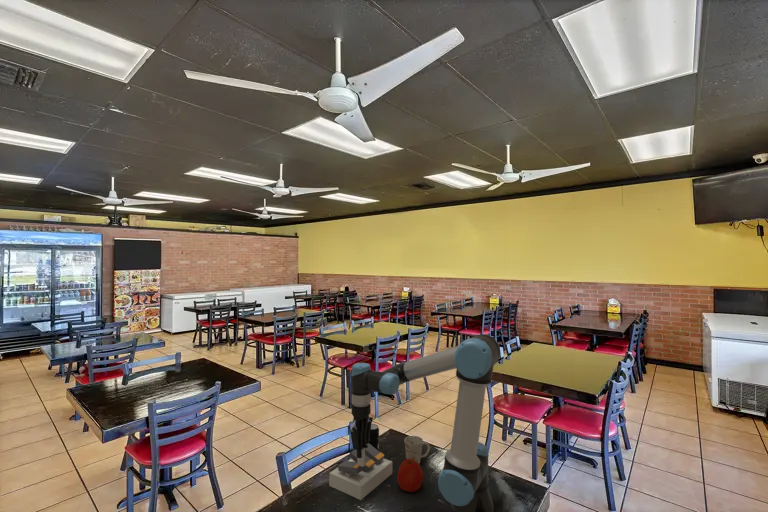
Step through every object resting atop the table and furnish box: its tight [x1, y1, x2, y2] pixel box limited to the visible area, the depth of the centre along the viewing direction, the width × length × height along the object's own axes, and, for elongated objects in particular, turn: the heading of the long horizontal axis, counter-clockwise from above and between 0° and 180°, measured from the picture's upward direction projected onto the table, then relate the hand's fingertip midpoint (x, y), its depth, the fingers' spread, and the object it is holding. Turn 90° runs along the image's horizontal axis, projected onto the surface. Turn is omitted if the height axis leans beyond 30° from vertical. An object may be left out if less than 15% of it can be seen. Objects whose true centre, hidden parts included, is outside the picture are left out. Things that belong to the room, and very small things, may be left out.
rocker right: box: [365, 444, 385, 464], centre depth 156 cm, size 10×5×2 cm, turn 55°
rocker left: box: [337, 460, 365, 474], centre depth 144 cm, size 10×5×2 cm, turn 56°
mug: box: [403, 435, 431, 465], centre depth 165 cm, size 8×13×10 cm, turn 115°
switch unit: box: [328, 458, 393, 501], centre depth 150 cm, size 16×22×7 cm
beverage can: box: [366, 423, 380, 452], centre depth 173 cm, size 7×7×12 cm
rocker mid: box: [349, 449, 375, 472], centre depth 150 cm, size 10×5×2 cm, turn 55°
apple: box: [397, 458, 424, 493], centre depth 145 cm, size 10×10×10 cm
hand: (361, 464), depth 142 cm, fingers closed
